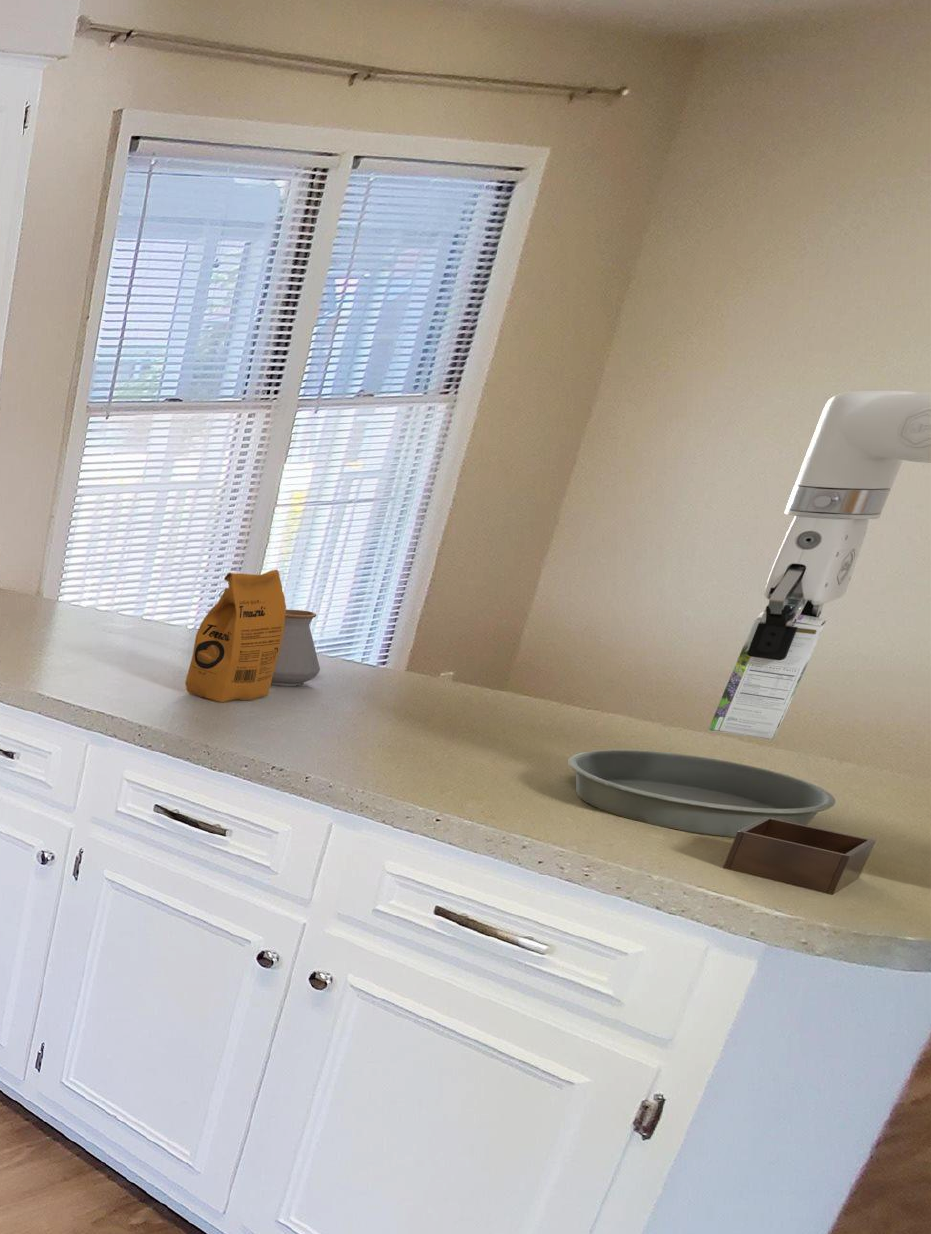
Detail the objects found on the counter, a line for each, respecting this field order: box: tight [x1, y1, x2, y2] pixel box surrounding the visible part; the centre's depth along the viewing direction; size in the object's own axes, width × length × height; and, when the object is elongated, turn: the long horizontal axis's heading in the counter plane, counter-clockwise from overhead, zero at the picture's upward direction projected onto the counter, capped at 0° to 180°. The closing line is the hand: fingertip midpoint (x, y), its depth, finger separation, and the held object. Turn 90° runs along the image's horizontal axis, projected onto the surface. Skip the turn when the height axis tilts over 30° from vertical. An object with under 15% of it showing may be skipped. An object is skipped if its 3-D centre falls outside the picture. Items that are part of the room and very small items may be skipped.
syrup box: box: [708, 611, 827, 740], centre depth 143 cm, size 6×6×14 cm
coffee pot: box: [218, 587, 321, 687], centre depth 219 cm, size 21×12×15 cm, turn 17°
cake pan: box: [567, 749, 836, 838], centre depth 152 cm, size 25×25×4 cm
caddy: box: [722, 817, 876, 896], centre depth 130 cm, size 9×9×6 cm
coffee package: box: [184, 569, 287, 703], centre depth 205 cm, size 10×12×22 cm
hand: (776, 653), depth 142 cm, fingers closed on syrup box, 6 cm apart
